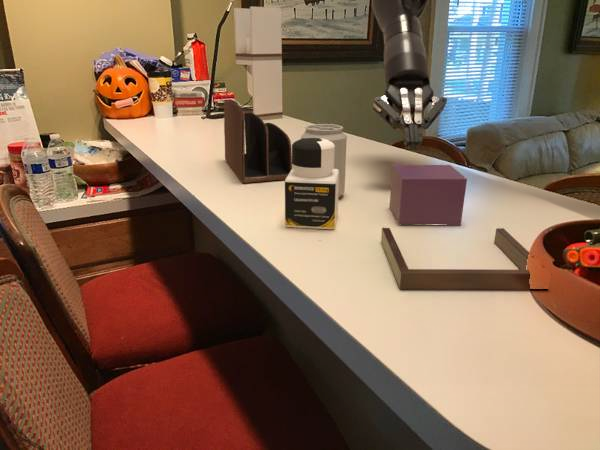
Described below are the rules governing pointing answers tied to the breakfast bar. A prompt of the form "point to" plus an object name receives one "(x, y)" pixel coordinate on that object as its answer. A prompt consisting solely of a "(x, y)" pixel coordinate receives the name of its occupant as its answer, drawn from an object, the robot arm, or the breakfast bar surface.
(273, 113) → the white stepped pillar
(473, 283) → the bay
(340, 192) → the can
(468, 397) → the breakfast bar surface
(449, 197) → the block
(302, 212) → the medicine bottle
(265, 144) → the letter holder
